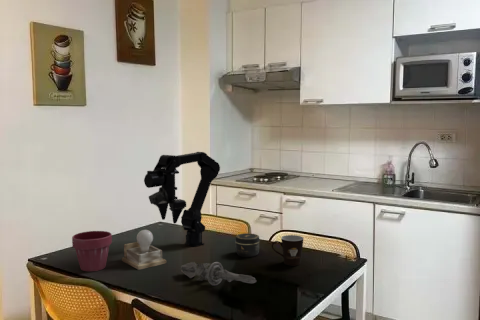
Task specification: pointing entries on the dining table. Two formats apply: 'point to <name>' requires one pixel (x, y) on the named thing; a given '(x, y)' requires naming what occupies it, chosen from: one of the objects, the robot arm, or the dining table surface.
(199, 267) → the spaceship
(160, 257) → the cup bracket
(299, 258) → the coffee mug
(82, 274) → the dining table surface
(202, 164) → the robot arm
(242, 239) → the jar
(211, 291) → the dining table surface
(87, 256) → the plant pot
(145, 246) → the lightbulb
